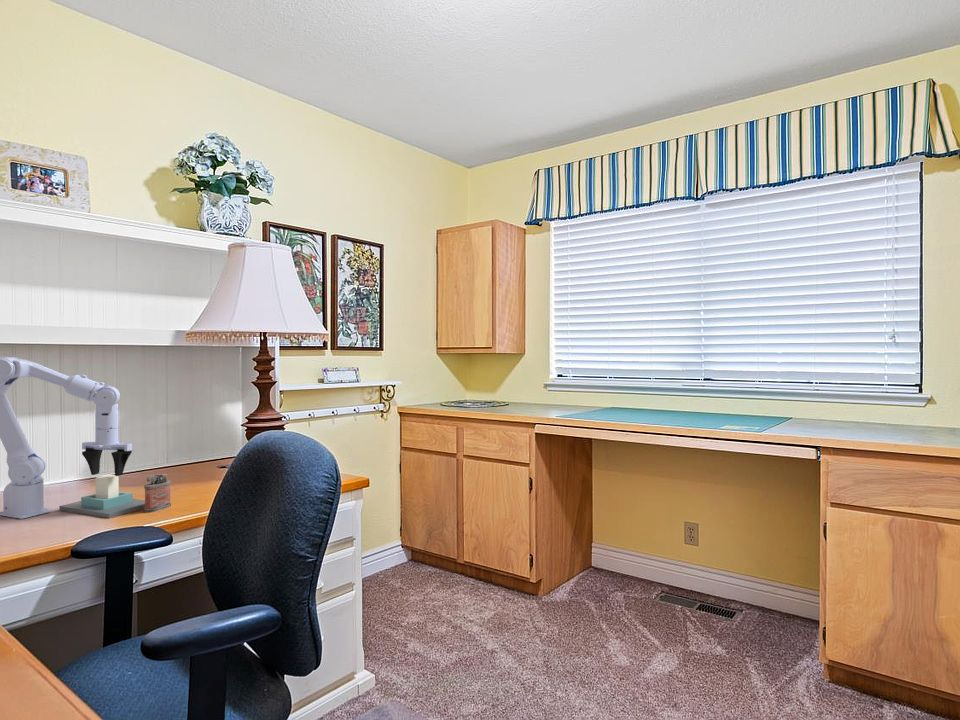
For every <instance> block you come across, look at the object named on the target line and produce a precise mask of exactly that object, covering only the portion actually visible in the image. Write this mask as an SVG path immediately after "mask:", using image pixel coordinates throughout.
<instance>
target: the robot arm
mask: <svg viewBox="0 0 960 720" xmlns="http://www.w3.org/2000/svg"><path fill="white" fill-rule="evenodd" d="M28 377H30V378H31V377H33V378H36V379H39V380H42V381H45V382H46V383H47V382H48V383H50V384H54V385H57V386H60V387H62V388H64V390H65V392H66V393H67V394H69V395H72V396H74V397H77V398H79V399H82V400H85V401H88V402H93V403H94V405H95V414H94V416H95V420H94V421H95V423H94V424H95V425H94V426H95V427H94V429H95V430H94V431H95V432H94V435H95V436H94V437H95V438H94V439H95V441H85V442H84V441H83V442H81V450H83V451H82V452H81V454H82V456H83V458H84V459H85V461H86V463H87V465H88V467H89V470H90V473H91V476H92V475H93V476H96V475H99V474H100V470H101V469H100V468H101V465H100V464H101V458H102V454H103V451H105V450H106V451H112V452H111V457H112V460H113V464H114V475H115V476H122V475H123V474H124V470H125V466H126V464H127V462H128V459H129V457H130V456H131V454H132V452H133V443H129V442H128V443H127V442H122V441H121V442H120V441H119V436H120V435H119V431H120V429H119V427H120V426H119V422H120V421H119V419H120V417H119V416H120V415H119V414H120V413H119V403H118V402H119V401H120V398H121V393H120V390H118V389H117V388H116V387H114V386H113V385H105V384H106V383H105V382H102V381H101V382H99V381H95V380H92V379H90V378H88V375H85V374H81V375H80V374H75V375H72V376H69V375H67V374H64V373H61V372H59V371H56V370H54V369H52V368H49V367H46V366H44V365H41V363H37V362H34V361H32V360H28V359H24V358H23V359H22V358H19V357H17V356H5V357H4V356H0V441H1V443H2V445H3V447H4V450H5V451H6V464H7V467H8V470H7V475H8V478H9V480H10V482H9V483H8V484H7V485H6V486H5V487H4V489H3V493H2V494H3V496H2V501H3V503H2V507H3V508H2V509H3V511H2V512H0V516H4V517H9V518H14V519H20V520H23V519H26V518H31V517H35V516H39V515H43V514H46V513H51V512H52V510H51V509H49V508H48V509H47V508H44V507H45V506H44V504H45V503H44V502H45V501H44V490H45V489H44V488H45V487H44V477H43V476H42V475H43V474H44V473H45V472H44V471H46V466H47V465H46V461H45V460H44V459H43V458H42V457H41V456H40V455H38V454H37V451H36V450H35V449H34V448H33V447H32V446H31V444H29V442H28V440H27V438H26V436H25V432H24V431H23V429H22V426H21V424H20V421H19V420H18V418H17V416H16V414H15V411H14V409H13V407H12V404H11V403H10V401H9V398H8V396H7V391H8V390H9V389H10V387H11V386H12V384H13V383H14V382H15V381H17V380H18V379H19V378H28Z"/></svg>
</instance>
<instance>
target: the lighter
mask: <svg viewBox="0 0 960 720" xmlns="http://www.w3.org/2000/svg"><path fill="white" fill-rule="evenodd" d="M167 478H168V474H167V473H164V474H162V473H156V474H155V475H151V476H148V477H147V478H146V482H148V484H144V486H143V489H144V500H145V508H144V509H143V512H144V513H154V512H158V511H161V510H165V509H168V508H171V507H172V503H171V485H172V480H169V479H168V480H167ZM170 506H171V507H170Z"/></svg>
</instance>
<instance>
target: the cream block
mask: <svg viewBox="0 0 960 720" xmlns="http://www.w3.org/2000/svg"><path fill="white" fill-rule="evenodd" d="M119 481H120V480H119V476H115V474H104V475H100V476H96V477H95V494H96V498H99V499H108V498H112V497H116V496H119V492H120V491H119V489H120V487H119V486H120V485H119V483H120V482H119Z"/></svg>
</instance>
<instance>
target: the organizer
mask: <svg viewBox="0 0 960 720" xmlns="http://www.w3.org/2000/svg"><path fill="white" fill-rule="evenodd" d="M133 494H134V493H133V492H125V491H119V496H116V497H112V498H108V499H99V498H96V493H94V494H89V495H85V496H81V498H80V499H81V500H80V501H74V502H70V503H67V504H62V505H59V508H58V510H59V511H62V512H67V513H73V514H79V515H87V516H91V517H92V516H93V517H98V518H99V517H100V518H105V519H106V518H107V519H112V518H114V517H115V518H116V517H119V516H122V515H125V514H129V513H133V512H136V511H140V510H144V508H145V499H137V498H133Z"/></svg>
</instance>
